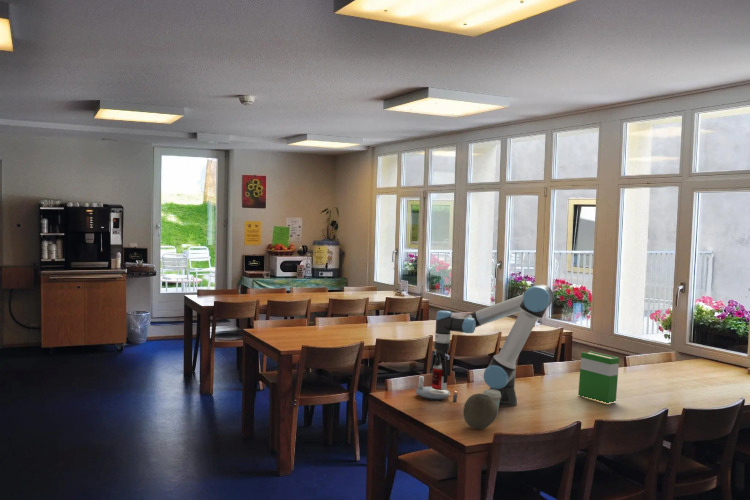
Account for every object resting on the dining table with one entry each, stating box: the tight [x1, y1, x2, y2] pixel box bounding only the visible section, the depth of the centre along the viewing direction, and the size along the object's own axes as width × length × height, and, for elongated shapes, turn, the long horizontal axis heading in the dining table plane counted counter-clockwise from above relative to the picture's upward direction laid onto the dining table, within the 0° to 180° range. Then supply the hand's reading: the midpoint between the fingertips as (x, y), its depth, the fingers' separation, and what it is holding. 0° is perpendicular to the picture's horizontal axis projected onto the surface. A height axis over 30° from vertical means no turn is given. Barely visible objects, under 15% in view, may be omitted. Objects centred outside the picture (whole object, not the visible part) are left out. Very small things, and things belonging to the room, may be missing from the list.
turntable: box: [415, 375, 452, 400], centre depth 325 cm, size 18×17×8 cm
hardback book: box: [577, 350, 620, 403], centre depth 340 cm, size 18×7×24 cm, turn 37°
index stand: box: [422, 390, 458, 403], centre depth 323 cm, size 17×10×5 cm, turn 46°
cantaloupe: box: [462, 393, 498, 431], centre depth 280 cm, size 14×14×15 cm
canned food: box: [431, 364, 449, 390], centre depth 323 cm, size 8×8×11 cm
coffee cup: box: [482, 388, 501, 419], centre depth 298 cm, size 8×9×12 cm
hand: (439, 386), depth 323 cm, fingers closed on canned food, 8 cm apart
